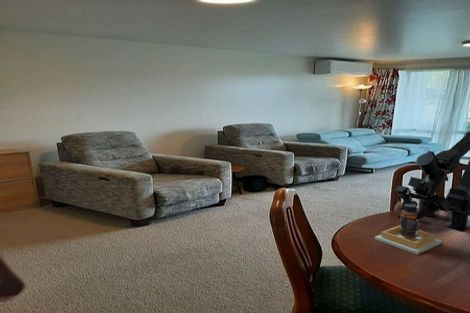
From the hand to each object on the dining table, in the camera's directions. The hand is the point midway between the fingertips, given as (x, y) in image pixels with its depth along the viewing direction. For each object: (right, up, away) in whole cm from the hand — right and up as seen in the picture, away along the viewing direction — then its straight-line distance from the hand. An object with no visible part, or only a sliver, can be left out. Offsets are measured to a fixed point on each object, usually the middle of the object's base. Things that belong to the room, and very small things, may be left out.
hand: (409, 216), depth 136 cm
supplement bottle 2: (+22, -4, +32) cm, 39 cm away
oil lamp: (+11, -5, +28) cm, 30 cm away
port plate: (0, -9, +2) cm, 9 cm away
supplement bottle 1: (0, -7, +1) cm, 7 cm away
